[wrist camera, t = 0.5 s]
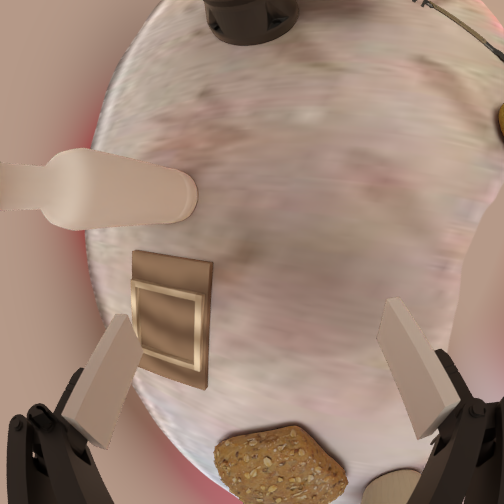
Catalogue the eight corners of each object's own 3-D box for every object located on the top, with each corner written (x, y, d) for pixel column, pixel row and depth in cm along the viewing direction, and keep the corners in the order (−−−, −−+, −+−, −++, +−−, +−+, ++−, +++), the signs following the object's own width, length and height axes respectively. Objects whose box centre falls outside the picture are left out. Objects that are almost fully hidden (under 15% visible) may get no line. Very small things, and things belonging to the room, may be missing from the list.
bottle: (184, 160, 38) (-7, 108, 9) (208, 204, 38) (-5, 196, 9) (146, 190, 40) (-35, 181, 12) (167, 232, 40) (-26, 263, 12)
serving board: (136, 250, 42) (128, 251, 40) (213, 262, 39) (206, 265, 37) (141, 363, 46) (134, 368, 44) (207, 386, 42) (202, 393, 40)
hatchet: (407, 7, 25) (407, 4, 24) (418, -7, 23) (419, -10, 22) (501, 78, 22) (504, 76, 21) (508, 60, 20) (510, 58, 19)
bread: (358, 472, 37) (357, 516, 26) (272, 494, 44) (260, 531, 32) (300, 405, 39) (288, 457, 27) (207, 435, 45) (182, 475, 33)
